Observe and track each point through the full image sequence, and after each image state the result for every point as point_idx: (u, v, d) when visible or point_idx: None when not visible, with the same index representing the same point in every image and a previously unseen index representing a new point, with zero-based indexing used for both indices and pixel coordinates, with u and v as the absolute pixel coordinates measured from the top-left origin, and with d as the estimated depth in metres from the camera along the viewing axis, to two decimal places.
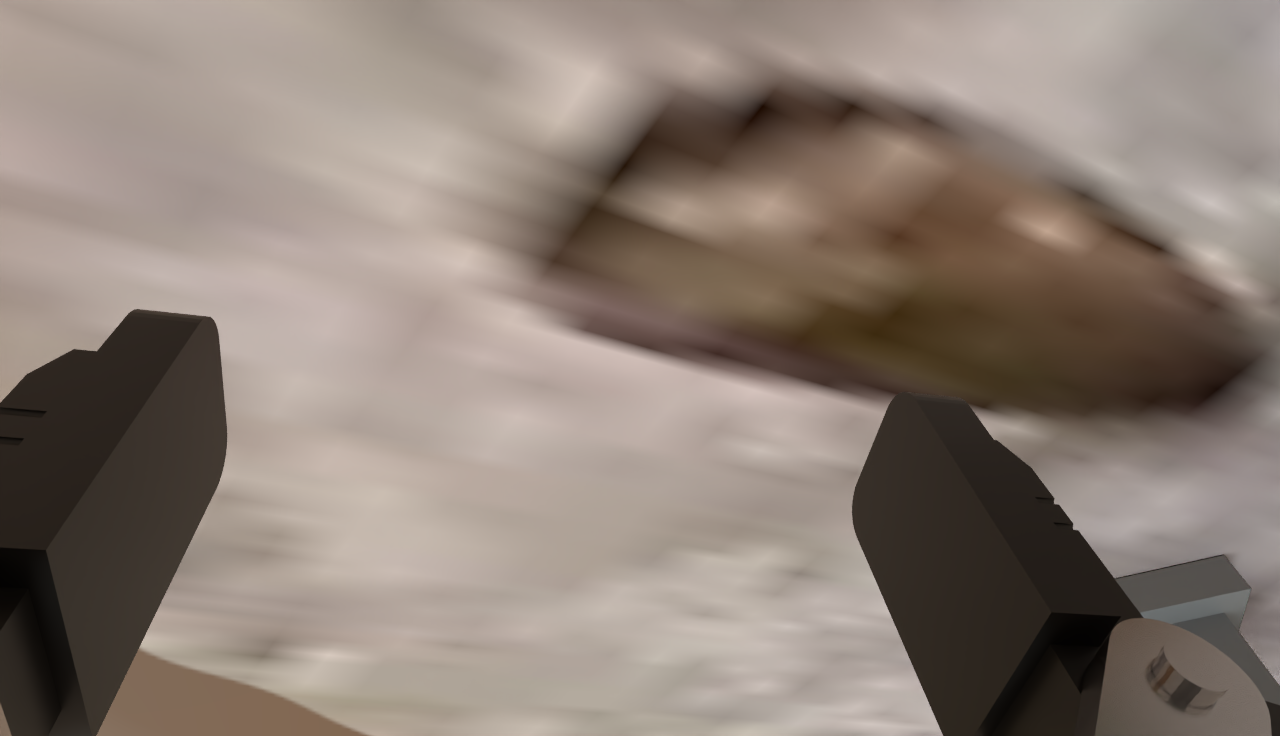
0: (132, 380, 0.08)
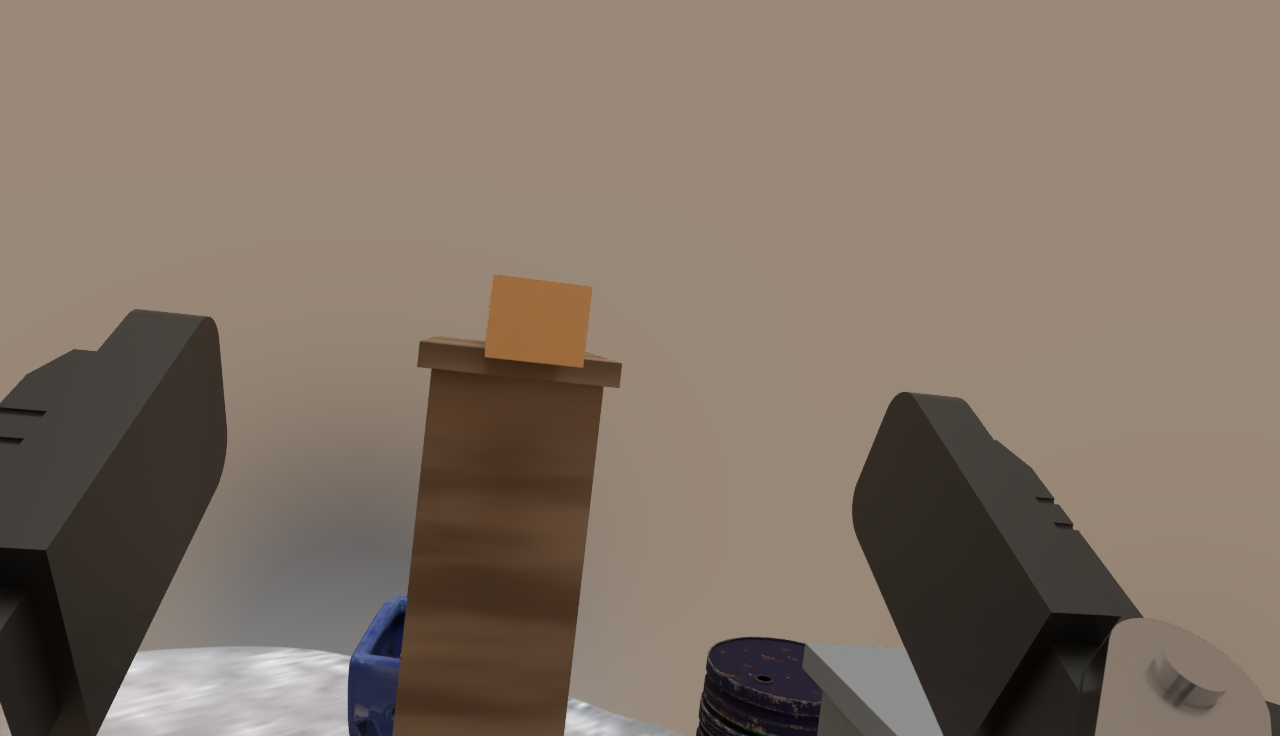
0: (132, 380, 0.08)
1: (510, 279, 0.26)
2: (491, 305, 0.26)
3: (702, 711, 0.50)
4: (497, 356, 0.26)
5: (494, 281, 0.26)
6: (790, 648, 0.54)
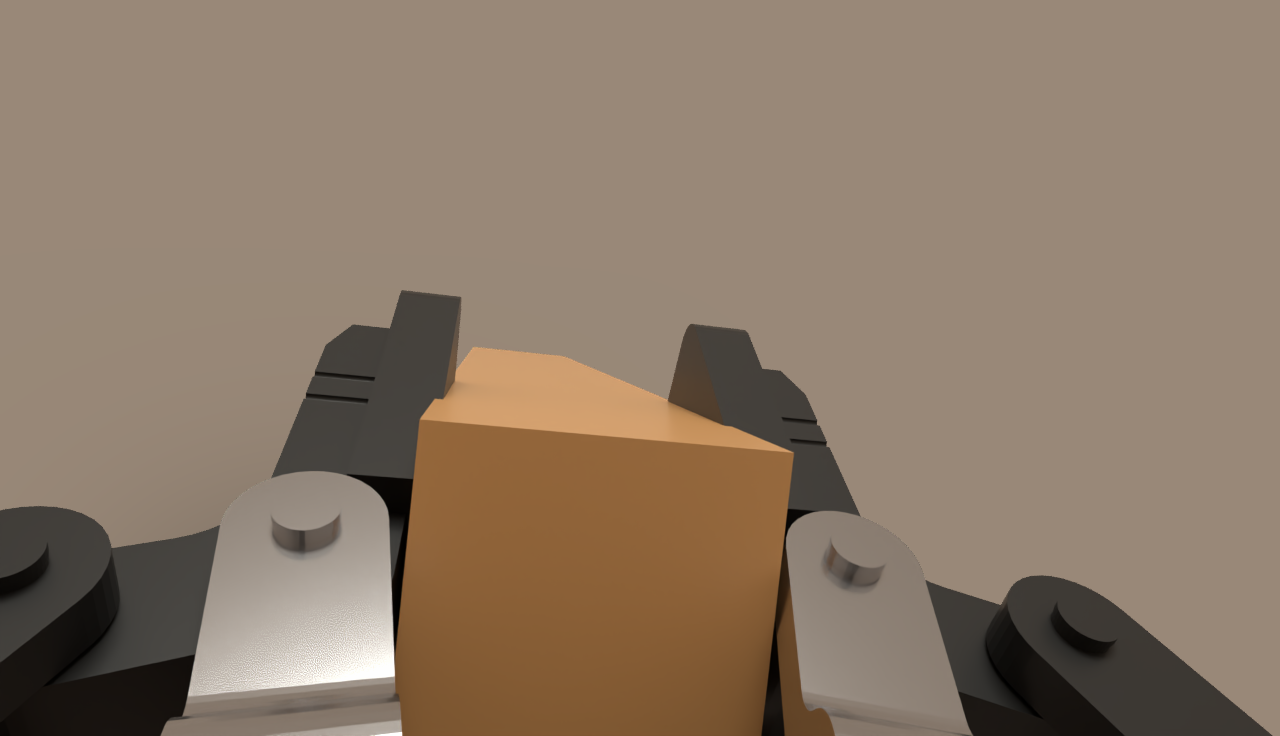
0: (429, 348, 0.09)
1: (487, 438, 0.07)
2: (410, 542, 0.06)
3: None
4: (437, 733, 0.07)
5: (422, 447, 0.06)
6: None
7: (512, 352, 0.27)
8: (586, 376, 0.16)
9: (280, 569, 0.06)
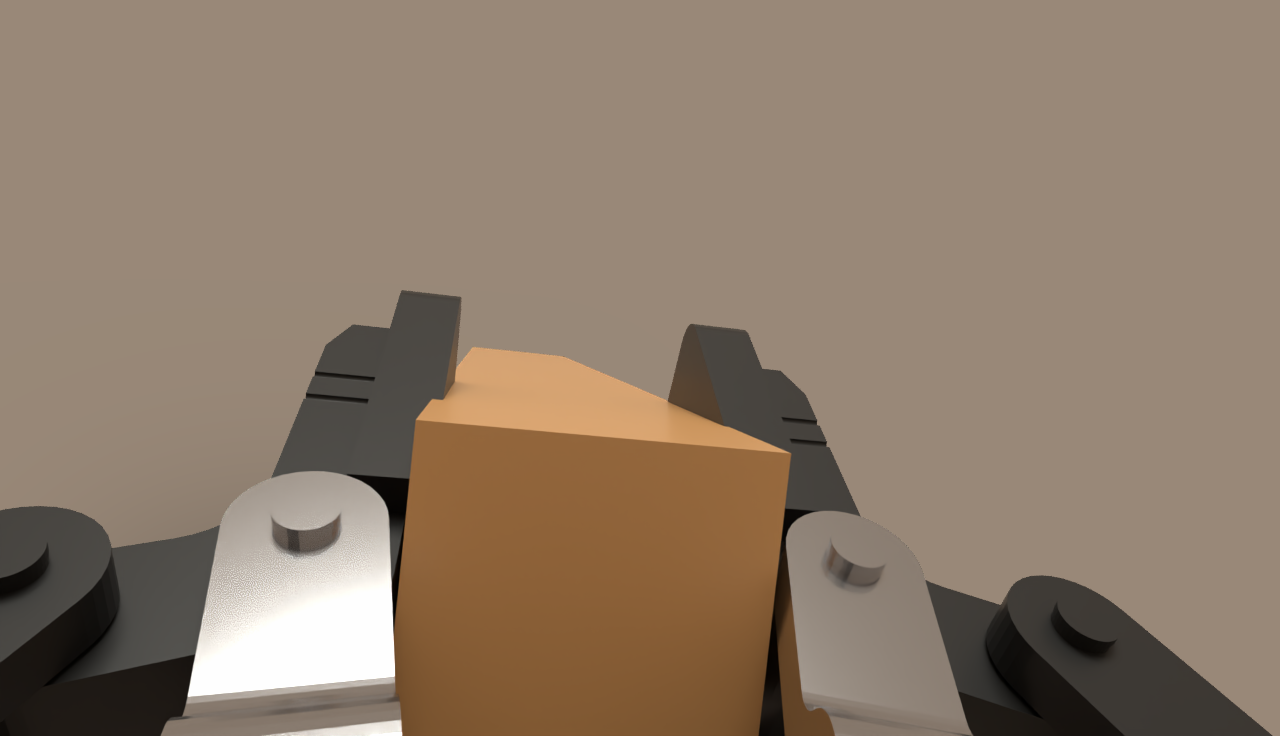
0: (430, 349, 0.09)
1: (485, 439, 0.07)
2: (406, 543, 0.06)
3: None
4: (433, 734, 0.07)
5: (418, 447, 0.06)
6: None
7: (511, 352, 0.27)
8: (585, 376, 0.16)
9: (280, 569, 0.06)
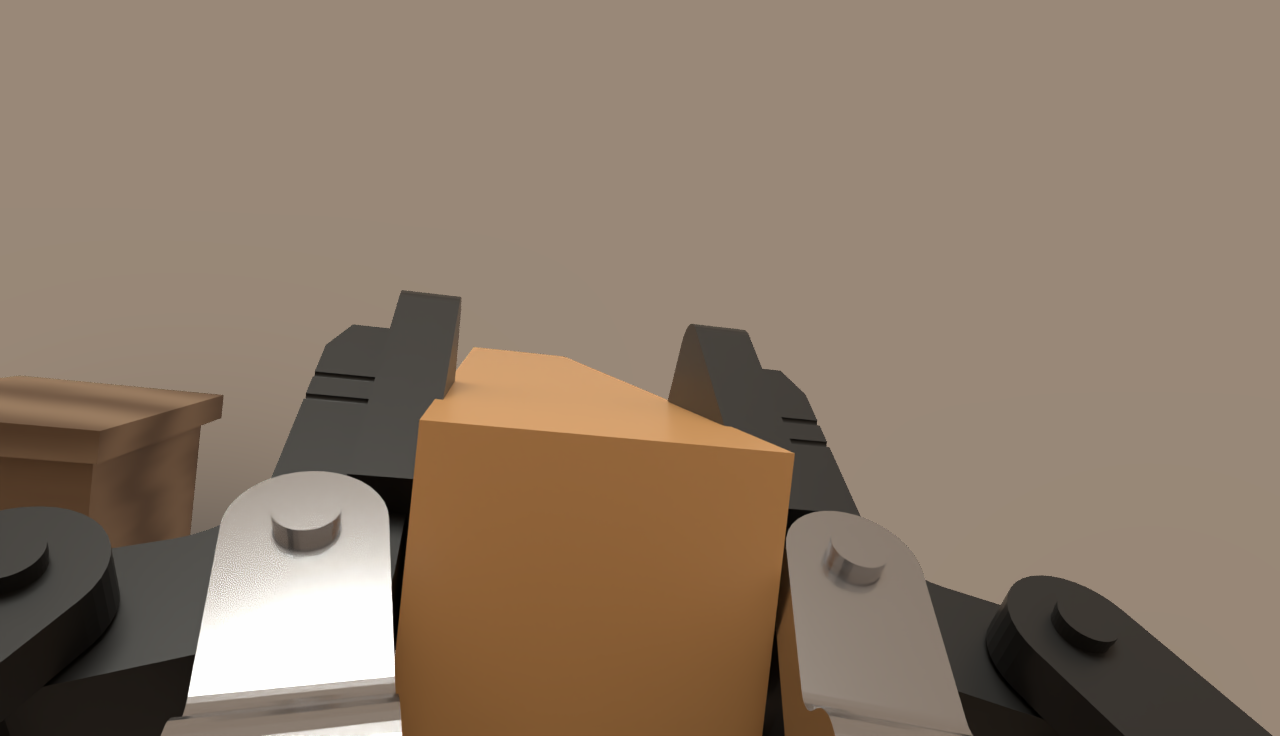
0: (429, 348, 0.09)
1: (487, 439, 0.07)
2: (410, 543, 0.06)
3: None
4: (437, 735, 0.07)
5: (422, 447, 0.06)
6: None
7: (512, 352, 0.27)
8: (586, 376, 0.16)
9: (280, 569, 0.06)
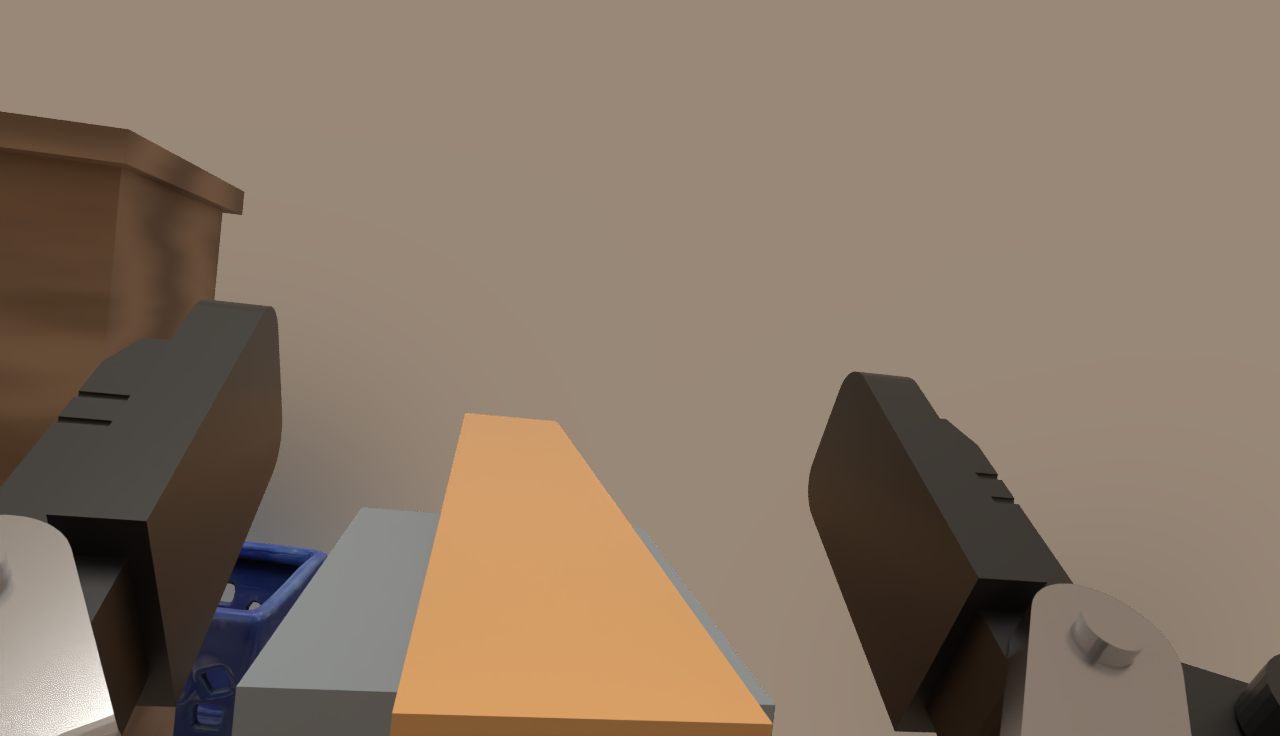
0: (207, 365, 0.08)
1: (461, 728, 0.07)
2: None
3: None
4: None
5: None
6: None
7: (504, 422, 0.27)
8: (574, 492, 0.16)
9: None
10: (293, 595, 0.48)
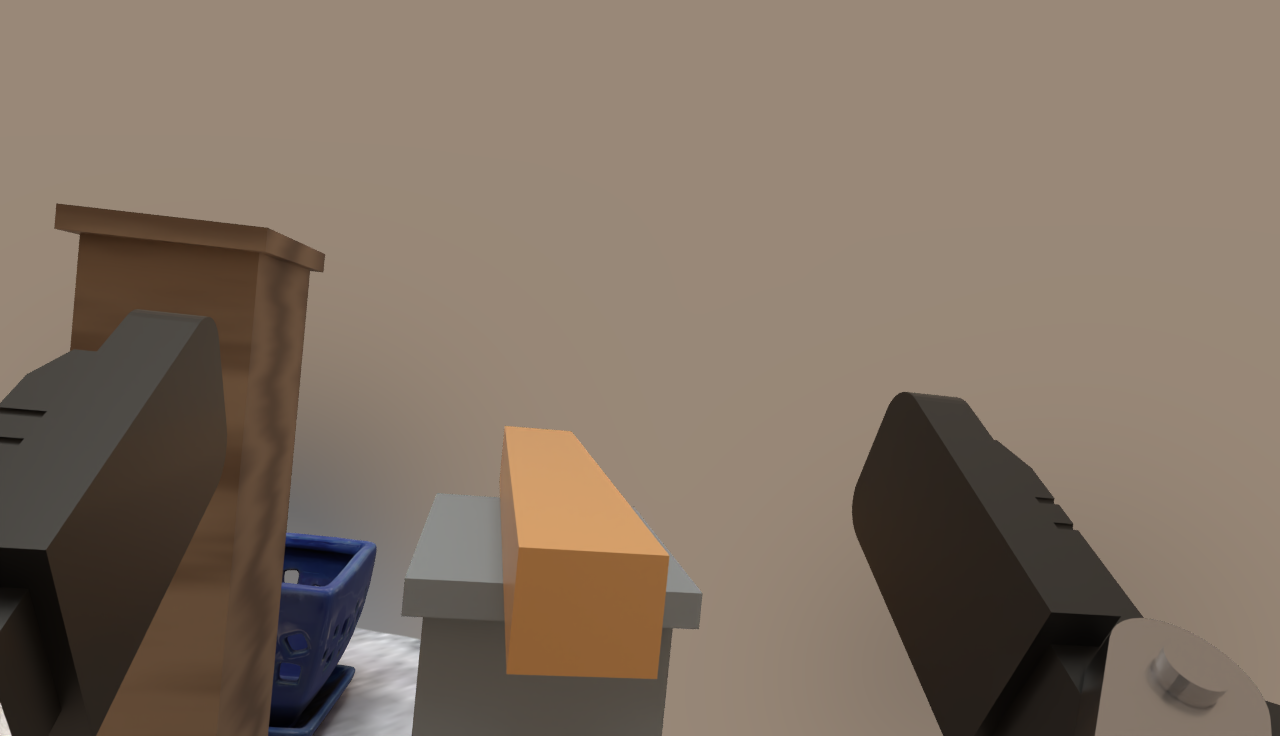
0: (132, 380, 0.08)
1: (545, 553, 0.17)
2: (515, 595, 0.17)
3: None
4: (526, 670, 0.17)
5: (520, 557, 0.17)
6: None
7: (534, 432, 0.37)
8: (586, 475, 0.26)
9: None
10: (353, 576, 0.58)
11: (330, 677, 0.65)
